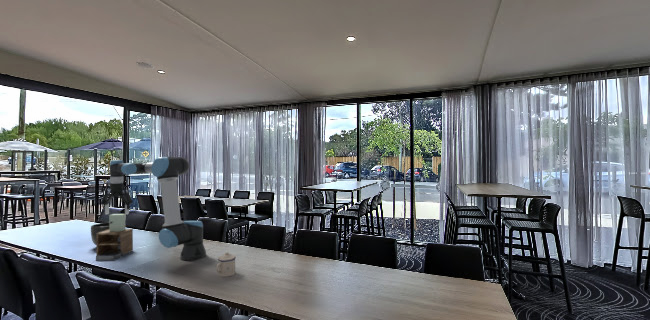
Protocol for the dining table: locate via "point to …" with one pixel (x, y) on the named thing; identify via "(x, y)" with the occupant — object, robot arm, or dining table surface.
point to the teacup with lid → (226, 265)
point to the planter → (98, 230)
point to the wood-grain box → (114, 241)
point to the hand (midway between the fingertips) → (117, 214)
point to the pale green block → (117, 222)
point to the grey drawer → (110, 254)
